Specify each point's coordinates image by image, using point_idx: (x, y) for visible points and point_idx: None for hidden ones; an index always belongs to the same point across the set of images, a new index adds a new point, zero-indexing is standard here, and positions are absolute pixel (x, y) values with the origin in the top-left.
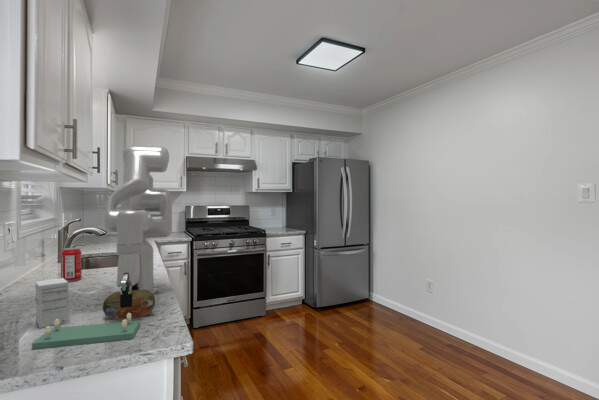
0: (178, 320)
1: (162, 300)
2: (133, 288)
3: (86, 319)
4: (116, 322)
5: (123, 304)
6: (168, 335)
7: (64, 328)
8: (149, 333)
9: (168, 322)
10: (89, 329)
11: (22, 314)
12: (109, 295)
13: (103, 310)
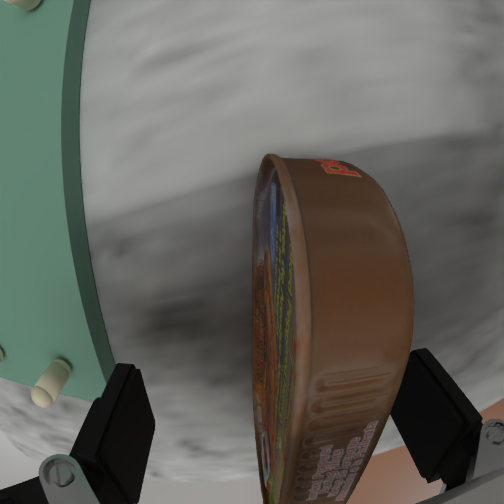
0: (172, 479)
1: (475, 393)
2: (435, 451)
3: (311, 36)
4: (81, 301)
5: (98, 401)
6: (48, 442)
7: (52, 16)
8: (49, 408)
9: (153, 460)
10: (1, 176)
11: None
12: (295, 267)
13: (264, 160)
